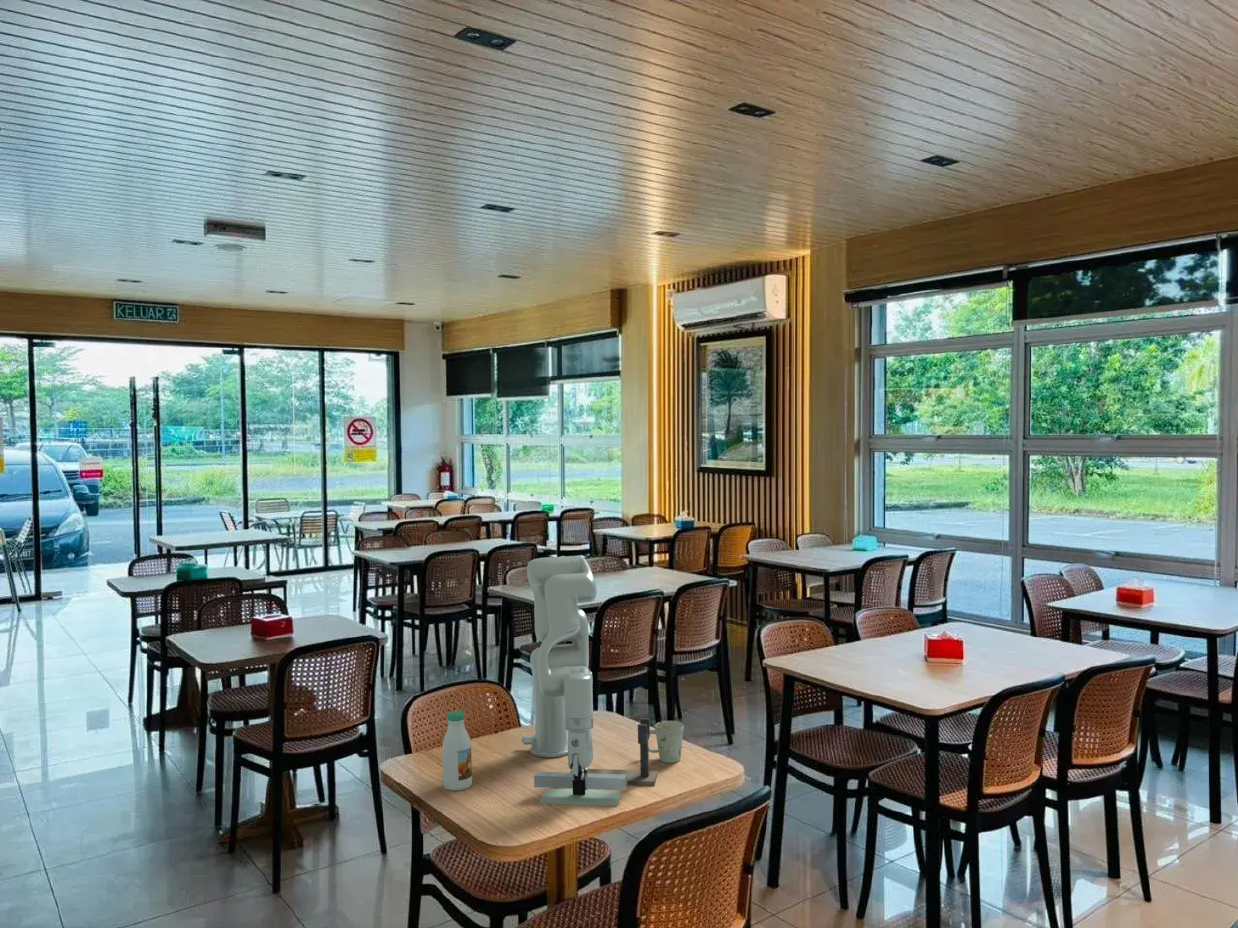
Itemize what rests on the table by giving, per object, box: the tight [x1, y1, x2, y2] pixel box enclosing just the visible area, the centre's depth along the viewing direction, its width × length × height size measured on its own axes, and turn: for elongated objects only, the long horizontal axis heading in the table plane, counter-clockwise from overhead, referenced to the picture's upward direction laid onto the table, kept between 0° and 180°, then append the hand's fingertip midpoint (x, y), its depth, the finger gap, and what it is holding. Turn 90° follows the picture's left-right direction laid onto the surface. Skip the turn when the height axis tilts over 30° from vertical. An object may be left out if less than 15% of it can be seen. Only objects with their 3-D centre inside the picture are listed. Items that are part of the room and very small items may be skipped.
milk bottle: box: [442, 710, 473, 792], centre depth 248 cm, size 8×8×20 cm
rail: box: [533, 771, 628, 791], centre depth 238 cm, size 24×3×3 cm, turn 81°
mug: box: [648, 720, 685, 764], centre depth 266 cm, size 8×13×10 cm, turn 79°
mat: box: [538, 788, 623, 807], centre depth 238 cm, size 20×9×1 cm, turn 81°
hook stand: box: [569, 717, 659, 787], centre depth 251 cm, size 24×8×16 cm, turn 81°
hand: (580, 791), depth 238 cm, fingers closed on rail, 3 cm apart
